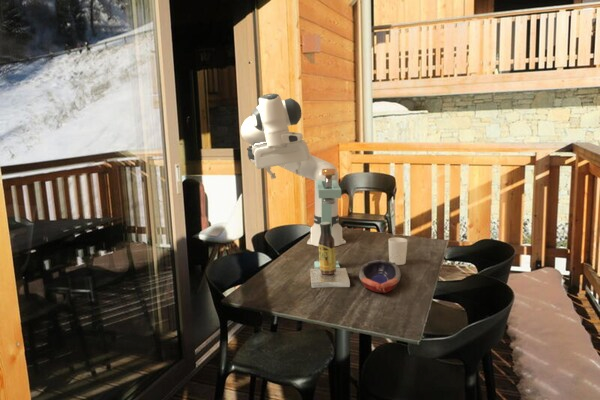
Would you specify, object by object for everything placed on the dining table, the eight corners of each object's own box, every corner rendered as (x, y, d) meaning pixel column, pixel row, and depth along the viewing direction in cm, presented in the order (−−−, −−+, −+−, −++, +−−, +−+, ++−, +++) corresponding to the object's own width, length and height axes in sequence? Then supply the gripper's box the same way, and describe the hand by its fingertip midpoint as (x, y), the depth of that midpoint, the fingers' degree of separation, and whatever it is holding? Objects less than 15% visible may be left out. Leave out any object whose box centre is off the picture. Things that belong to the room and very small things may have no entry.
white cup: (386, 264, 208) (387, 241, 206) (389, 259, 215) (389, 236, 214) (406, 266, 206) (406, 242, 204) (407, 260, 213) (408, 238, 211)
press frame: (314, 264, 210) (313, 179, 204) (338, 263, 210) (337, 179, 204) (316, 286, 184) (315, 190, 177) (344, 286, 184) (344, 189, 177)
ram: (321, 201, 188) (321, 168, 186) (335, 201, 188) (334, 168, 186) (322, 204, 183) (322, 170, 181) (336, 203, 183) (336, 169, 181)
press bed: (310, 273, 199) (310, 268, 198) (345, 272, 199) (345, 268, 198) (311, 287, 183) (311, 282, 183) (349, 287, 183) (349, 281, 183)
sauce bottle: (317, 272, 193) (312, 223, 189) (329, 268, 197) (325, 219, 193) (327, 276, 188) (323, 225, 184) (340, 272, 192) (336, 222, 188)
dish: (401, 270, 201) (401, 258, 200) (400, 299, 172) (400, 285, 171) (362, 268, 204) (362, 257, 203) (354, 296, 175) (354, 282, 174)
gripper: (248, 145, 179) (257, 182, 182) (304, 135, 176) (311, 173, 179) (252, 143, 185) (260, 179, 188) (306, 133, 182) (313, 169, 185)
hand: (286, 176), depth 183 cm, fingers open, 8 cm apart
